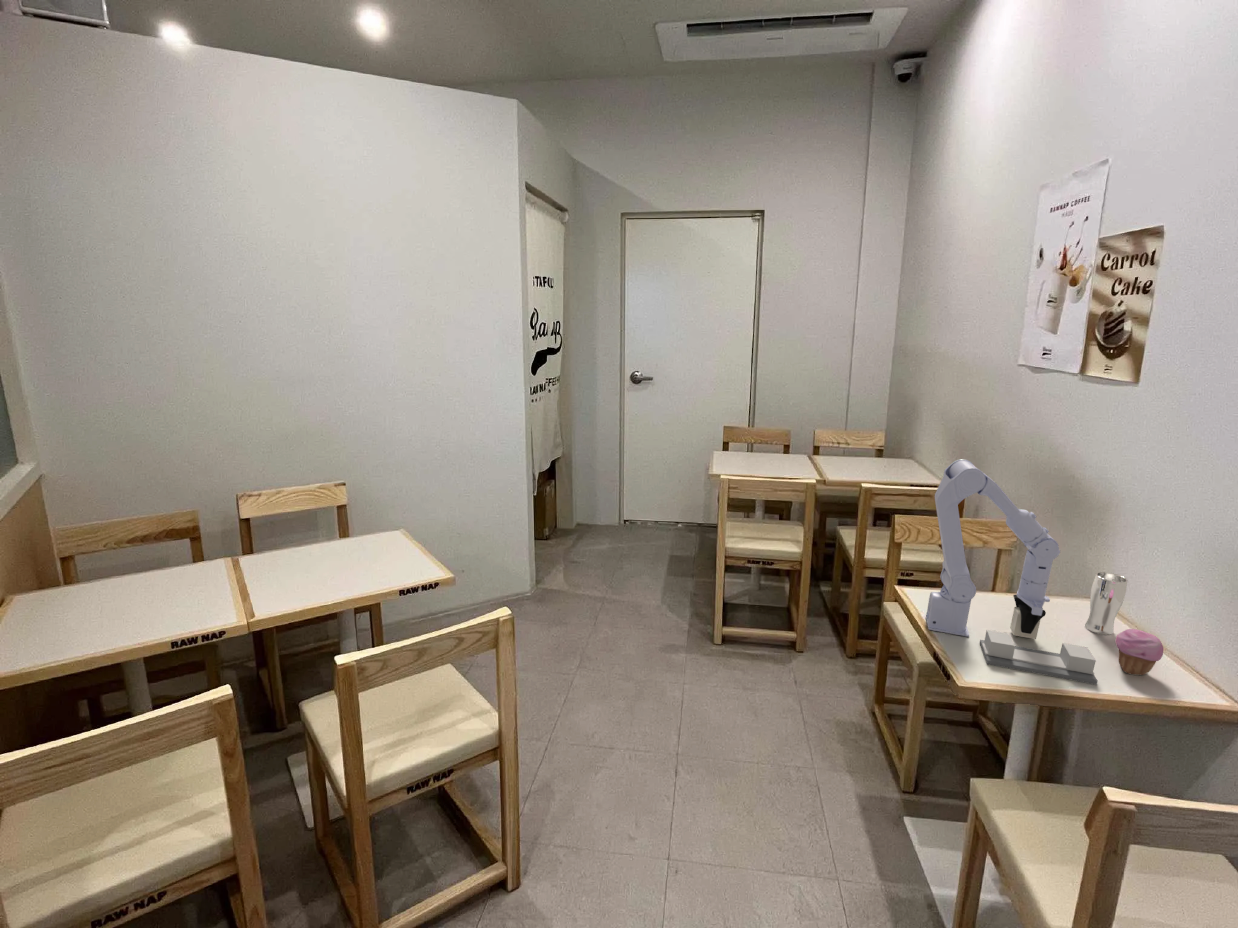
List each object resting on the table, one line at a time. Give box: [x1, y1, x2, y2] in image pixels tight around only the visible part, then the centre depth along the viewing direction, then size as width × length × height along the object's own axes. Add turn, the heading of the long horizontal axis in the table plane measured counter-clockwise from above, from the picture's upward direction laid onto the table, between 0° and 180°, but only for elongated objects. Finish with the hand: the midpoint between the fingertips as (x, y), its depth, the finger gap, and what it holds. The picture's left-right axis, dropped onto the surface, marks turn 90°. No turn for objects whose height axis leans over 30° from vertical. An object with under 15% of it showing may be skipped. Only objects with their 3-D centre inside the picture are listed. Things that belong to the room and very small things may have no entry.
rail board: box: [979, 629, 1099, 686], centre depth 153 cm, size 22×10×5 cm, turn 70°
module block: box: [1009, 606, 1041, 640], centre depth 164 cm, size 5×4×6 cm
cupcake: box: [1114, 628, 1164, 676], centre depth 150 cm, size 9×9×10 cm
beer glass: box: [1084, 571, 1129, 636], centre depth 168 cm, size 7×7×15 cm
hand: (1023, 628), depth 165 cm, fingers closed on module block, 4 cm apart
